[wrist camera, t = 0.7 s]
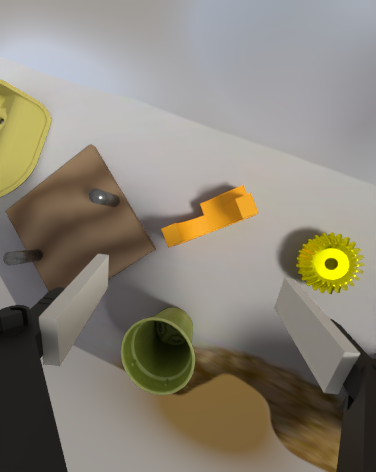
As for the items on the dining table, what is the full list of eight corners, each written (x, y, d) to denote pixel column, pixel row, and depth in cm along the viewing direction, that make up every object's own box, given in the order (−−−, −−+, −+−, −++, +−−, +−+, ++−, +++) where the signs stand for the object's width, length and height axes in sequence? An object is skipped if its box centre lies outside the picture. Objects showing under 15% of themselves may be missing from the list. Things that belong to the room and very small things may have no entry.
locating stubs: (122, 202, 34) (104, 198, 30) (36, 262, 38) (7, 267, 33) (115, 192, 35) (97, 185, 30) (30, 253, 38) (1, 256, 33)
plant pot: (152, 357, 35) (128, 397, 27) (141, 301, 36) (113, 323, 27) (208, 352, 34) (201, 392, 25) (196, 292, 34) (186, 313, 25)
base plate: (155, 248, 35) (153, 249, 34) (63, 307, 38) (58, 309, 37) (95, 147, 36) (90, 144, 35) (11, 211, 40) (5, 211, 39)
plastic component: (-16, 84, 37) (0, 76, 31) (34, 113, 44) (55, 111, 38) (-55, 196, 38) (-47, 208, 32) (0, 209, 44) (15, 221, 38)
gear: (305, 223, 31) (281, 274, 32) (315, 222, 27) (288, 280, 28) (363, 245, 30) (337, 298, 30) (382, 247, 26) (352, 307, 27)
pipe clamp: (241, 189, 32) (245, 179, 26) (252, 216, 32) (258, 212, 26) (169, 218, 35) (156, 216, 28) (179, 244, 34) (168, 247, 28)
